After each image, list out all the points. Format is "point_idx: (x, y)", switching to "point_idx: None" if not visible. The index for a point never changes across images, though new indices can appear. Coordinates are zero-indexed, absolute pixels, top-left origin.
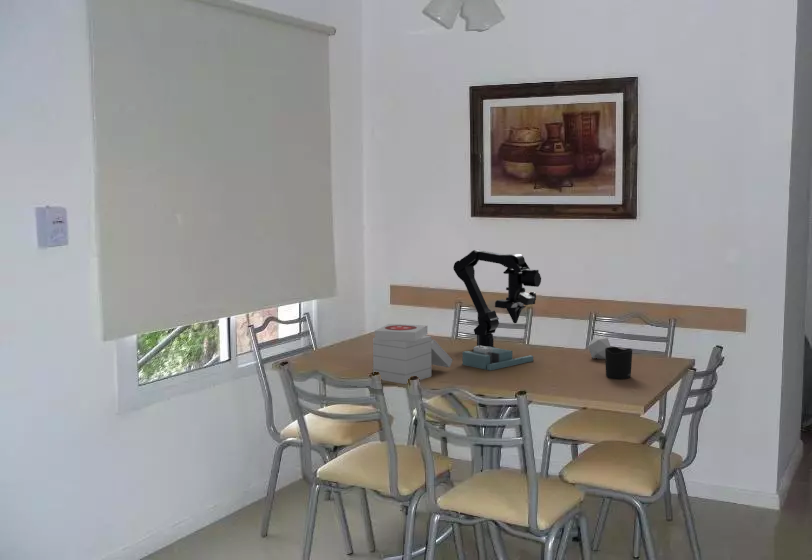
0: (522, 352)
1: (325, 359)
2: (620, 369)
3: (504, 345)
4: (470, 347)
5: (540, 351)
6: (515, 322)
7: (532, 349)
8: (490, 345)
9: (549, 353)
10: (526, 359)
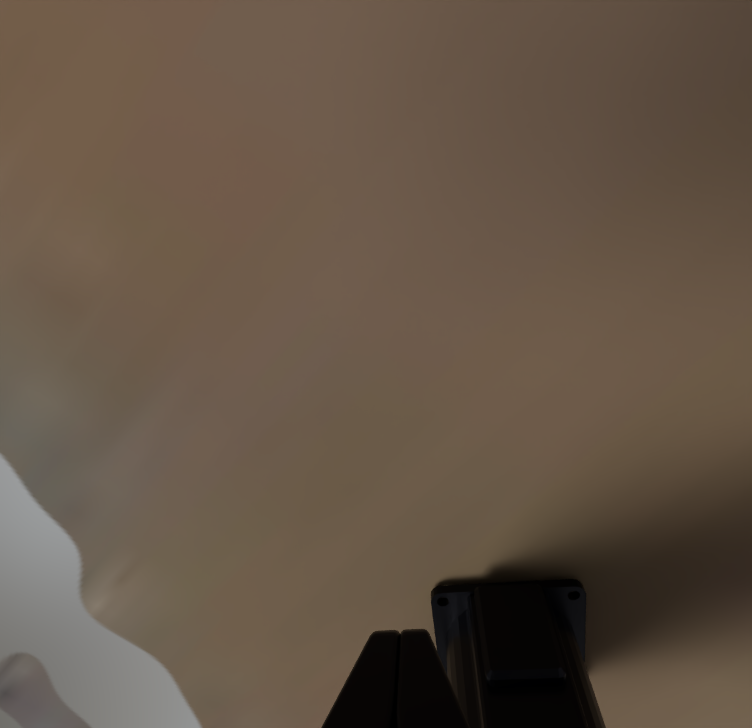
0: (348, 297)
1: None
2: None
3: (273, 622)
4: None
5: (133, 212)
6: (431, 645)
7: (152, 352)
8: (527, 603)
9: (99, 32)
10: None
